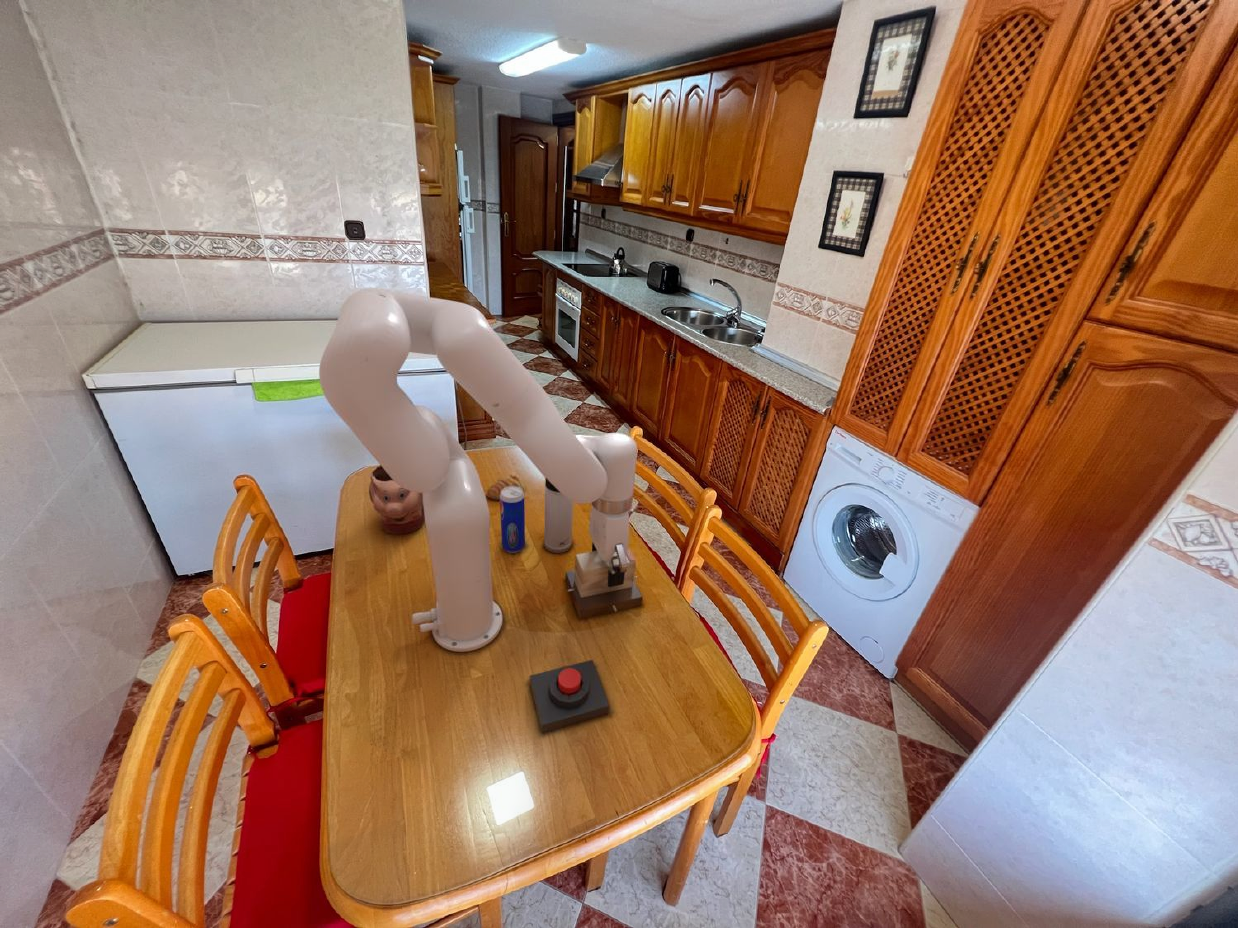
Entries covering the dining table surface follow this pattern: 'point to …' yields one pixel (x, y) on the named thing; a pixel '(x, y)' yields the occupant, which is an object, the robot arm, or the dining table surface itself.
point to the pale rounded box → (599, 573)
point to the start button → (569, 681)
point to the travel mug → (557, 520)
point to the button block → (568, 697)
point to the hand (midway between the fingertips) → (607, 567)
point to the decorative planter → (395, 503)
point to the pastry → (503, 486)
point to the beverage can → (512, 519)
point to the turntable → (602, 599)
